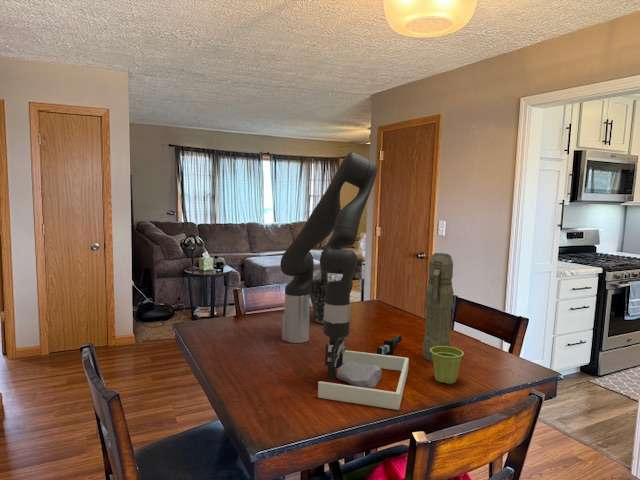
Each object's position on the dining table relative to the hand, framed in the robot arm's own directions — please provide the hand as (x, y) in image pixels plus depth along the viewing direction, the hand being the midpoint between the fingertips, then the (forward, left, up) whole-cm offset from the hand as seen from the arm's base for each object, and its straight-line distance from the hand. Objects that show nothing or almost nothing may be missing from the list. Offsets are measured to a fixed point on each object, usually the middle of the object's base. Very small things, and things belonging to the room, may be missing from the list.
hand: (335, 373), depth 127 cm
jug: (-17, +57, -2) cm, 60 cm away
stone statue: (+28, +28, -2) cm, 40 cm away
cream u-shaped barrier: (+9, 0, -2) cm, 9 cm away
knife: (+13, +30, -2) cm, 33 cm away
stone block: (+7, +1, -2) cm, 7 cm away
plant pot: (+31, +10, -2) cm, 32 cm away
